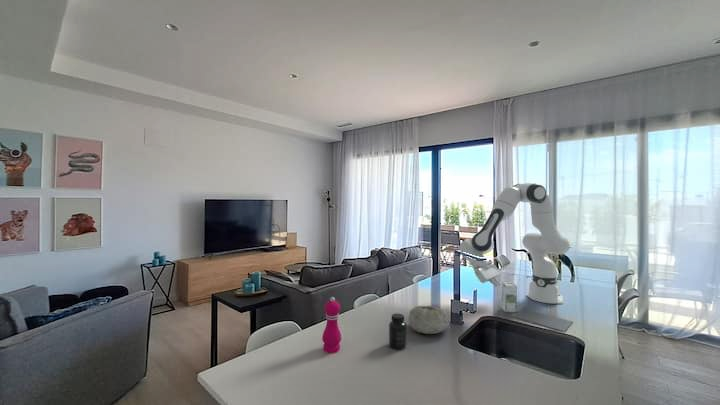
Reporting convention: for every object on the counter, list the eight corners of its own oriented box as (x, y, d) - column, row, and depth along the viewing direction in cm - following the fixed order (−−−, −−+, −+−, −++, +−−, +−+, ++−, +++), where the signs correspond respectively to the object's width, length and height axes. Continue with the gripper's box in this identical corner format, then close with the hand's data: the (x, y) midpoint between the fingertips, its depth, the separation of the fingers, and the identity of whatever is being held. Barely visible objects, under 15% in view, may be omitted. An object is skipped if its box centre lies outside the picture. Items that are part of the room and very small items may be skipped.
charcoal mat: (523, 309, 157) (523, 308, 157) (572, 322, 141) (573, 321, 141) (512, 317, 146) (512, 316, 146) (564, 332, 130) (564, 331, 130)
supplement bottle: (407, 343, 117) (408, 313, 117) (404, 351, 111) (405, 320, 111) (390, 340, 120) (391, 311, 119) (386, 348, 113) (387, 317, 113)
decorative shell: (415, 318, 142) (416, 298, 142) (453, 327, 133) (453, 305, 133) (402, 333, 127) (402, 310, 127) (443, 343, 118) (444, 318, 118)
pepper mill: (326, 355, 107) (327, 301, 107) (319, 346, 113) (320, 295, 113) (344, 351, 110) (345, 298, 110) (336, 343, 117) (337, 293, 116)
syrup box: (512, 309, 158) (512, 282, 158) (516, 313, 152) (517, 285, 152) (501, 308, 158) (501, 281, 158) (505, 312, 152) (505, 284, 152)
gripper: (476, 264, 157) (494, 286, 150) (492, 259, 171) (509, 279, 164) (468, 271, 161) (485, 293, 154) (484, 265, 175) (501, 285, 168)
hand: (498, 286), depth 159 cm, fingers closed
